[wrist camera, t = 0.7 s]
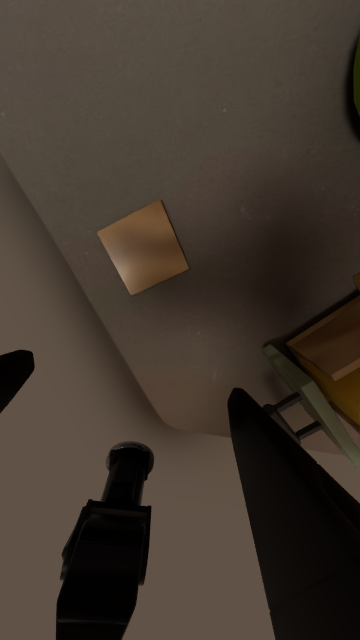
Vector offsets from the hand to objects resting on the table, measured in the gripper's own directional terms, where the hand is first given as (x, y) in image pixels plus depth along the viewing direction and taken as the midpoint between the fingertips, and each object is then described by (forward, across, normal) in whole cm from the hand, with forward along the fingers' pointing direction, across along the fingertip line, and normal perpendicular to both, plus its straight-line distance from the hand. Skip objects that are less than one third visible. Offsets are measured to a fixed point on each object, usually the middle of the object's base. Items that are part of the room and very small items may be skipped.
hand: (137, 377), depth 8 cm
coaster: (+13, +3, -4) cm, 14 cm away
